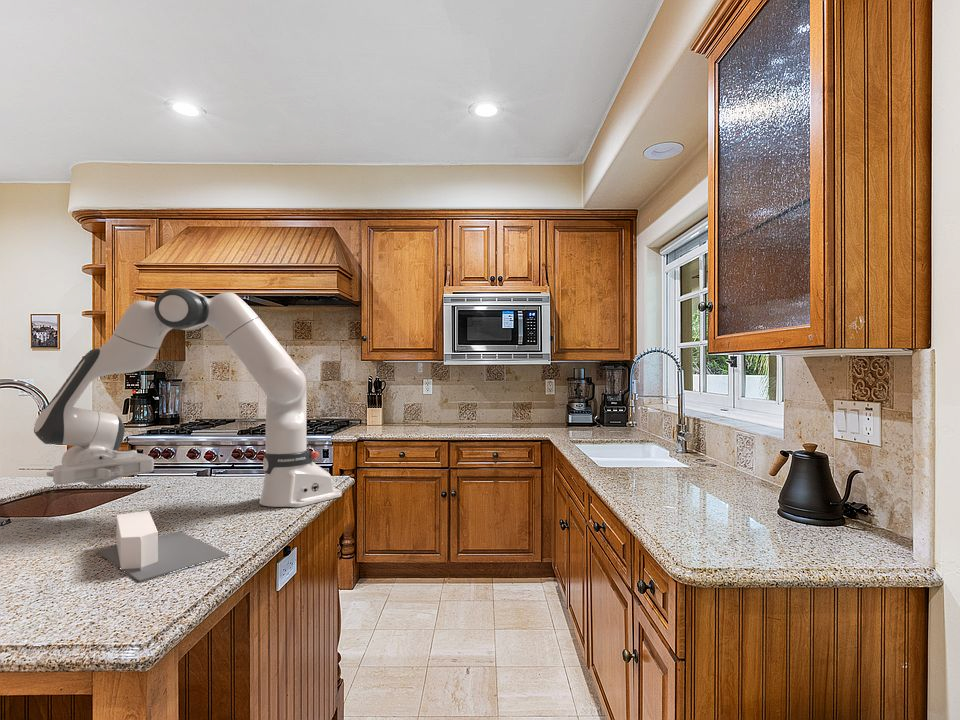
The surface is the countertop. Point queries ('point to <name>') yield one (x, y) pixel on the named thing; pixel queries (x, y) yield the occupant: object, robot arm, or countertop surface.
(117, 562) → the mat
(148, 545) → the milk
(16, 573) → the countertop surface
